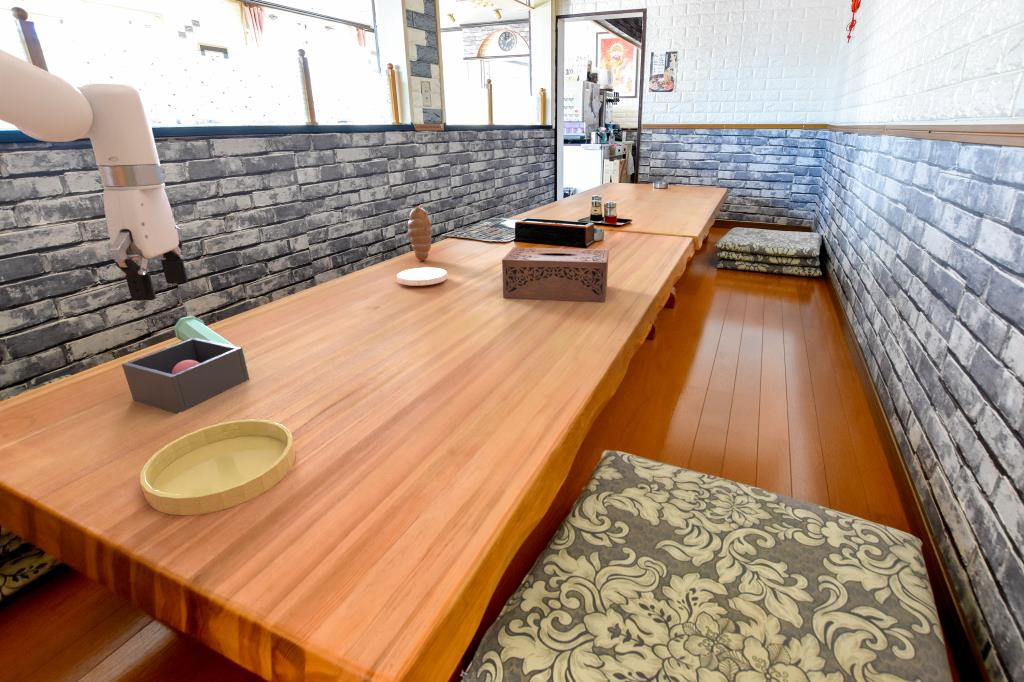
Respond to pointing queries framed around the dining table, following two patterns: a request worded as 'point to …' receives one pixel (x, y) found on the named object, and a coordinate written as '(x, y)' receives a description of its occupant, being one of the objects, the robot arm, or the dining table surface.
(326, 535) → the dining table surface
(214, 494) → the tray
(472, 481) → the dining table surface
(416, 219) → the croissant
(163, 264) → the robot arm
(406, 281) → the plastic lid
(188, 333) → the container
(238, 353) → the bin
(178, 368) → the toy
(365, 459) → the dining table surface
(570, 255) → the tissue box cover
